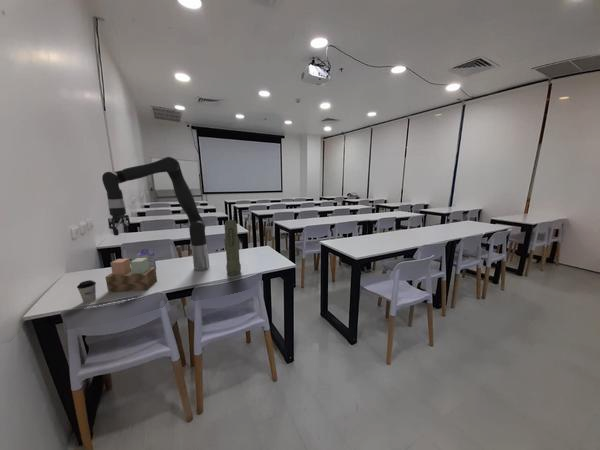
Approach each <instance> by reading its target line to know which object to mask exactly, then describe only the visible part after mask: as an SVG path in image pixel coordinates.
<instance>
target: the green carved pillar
mask: <svg viewBox="0 0 600 450" xmlns="http://www.w3.org/2000/svg"><path fill="white" fill-rule="evenodd" d="M223 228H224V234H225V235H224V248H225V254H226V255H225V257H226V266H225V267H226V275H227V276H229V277H236V276H239V275H241V274H242V272H241V271H242V267H241V265H242V264H241V263H240V238H239V234H238V224H237V221H236V220H235V219H228V220H226V221H225V222H224V227H223Z"/></svg>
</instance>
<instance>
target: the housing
mask: <svg viewBox="0 0 600 450" xmlns="http://www.w3.org/2000/svg"><path fill="white" fill-rule="evenodd" d="M149 269H150V270H148V271H147V272H146V273H144V274H132V270H131V271H129V272H128V273H126V274H123V275H113V274H112V272H111V273H109V274H108V275H106V276H105V283H106V288H107V292H108V293H117V292H118V293H120V292H121V293H122V292H136V291H137V292H139V291H148V290H150V288H152V287H153V286H154V285H155V284H156V283H157V282H158V278H157V270H156V269H157V267H156V268H155V267H152V268H149Z"/></svg>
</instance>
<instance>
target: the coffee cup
mask: <svg viewBox="0 0 600 450" xmlns="http://www.w3.org/2000/svg"><path fill="white" fill-rule="evenodd" d="M96 284H97V283H96V281H95V280H90V279H89V280H84V281H82V282H80V283H79V284H78V285H77V286H76V288H77V290H78V291H79V294H80V297H81V299H82V302H83V304H89V303H93V302H94V301H96V300H97V297H96V295H97V294H96V293H97V291H96Z"/></svg>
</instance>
